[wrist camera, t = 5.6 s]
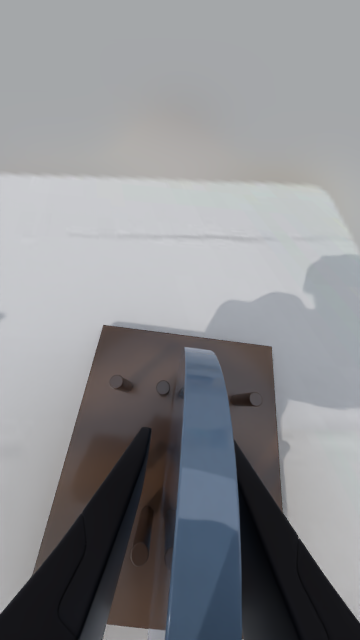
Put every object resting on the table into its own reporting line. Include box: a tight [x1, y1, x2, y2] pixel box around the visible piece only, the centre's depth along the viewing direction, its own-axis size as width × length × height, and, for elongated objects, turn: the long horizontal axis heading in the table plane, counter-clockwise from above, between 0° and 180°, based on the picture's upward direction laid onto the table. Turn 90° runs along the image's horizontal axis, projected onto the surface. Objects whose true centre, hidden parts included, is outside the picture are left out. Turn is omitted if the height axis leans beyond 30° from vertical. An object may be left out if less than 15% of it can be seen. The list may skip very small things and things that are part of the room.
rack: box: [32, 325, 283, 639], centre depth 12 cm, size 16×14×4 cm
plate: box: [148, 347, 242, 640], centre depth 8 cm, size 11×1×11 cm, turn 173°
